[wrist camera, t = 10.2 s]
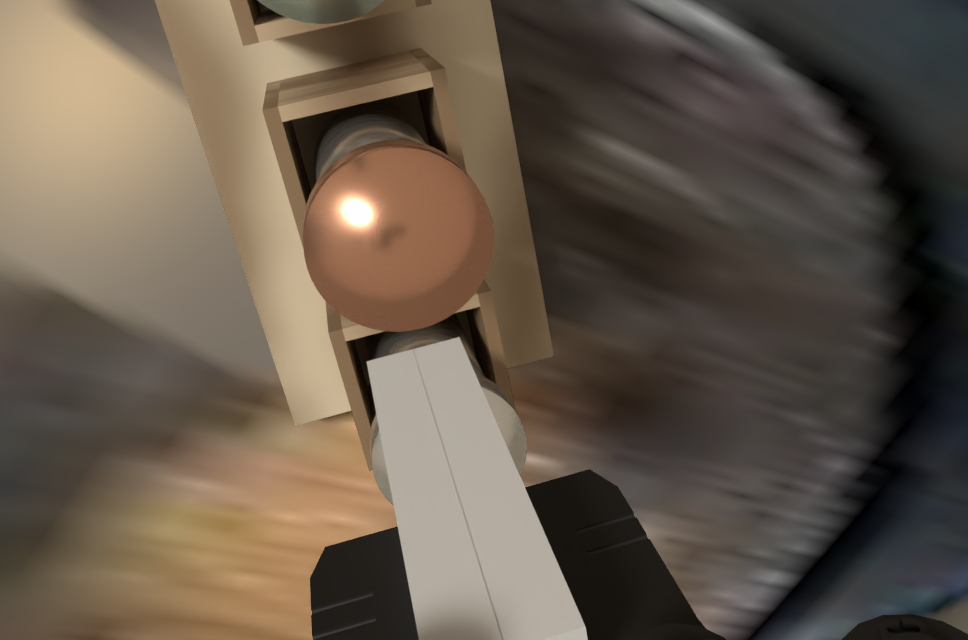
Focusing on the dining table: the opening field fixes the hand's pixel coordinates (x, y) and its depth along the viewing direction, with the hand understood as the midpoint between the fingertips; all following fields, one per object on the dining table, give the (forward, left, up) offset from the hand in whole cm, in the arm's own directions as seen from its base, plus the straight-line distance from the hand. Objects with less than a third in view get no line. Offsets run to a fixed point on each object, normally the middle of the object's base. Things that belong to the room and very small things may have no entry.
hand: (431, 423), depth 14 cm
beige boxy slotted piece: (+1, 0, -24) cm, 24 cm away
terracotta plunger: (+1, 0, -20) cm, 20 cm away
